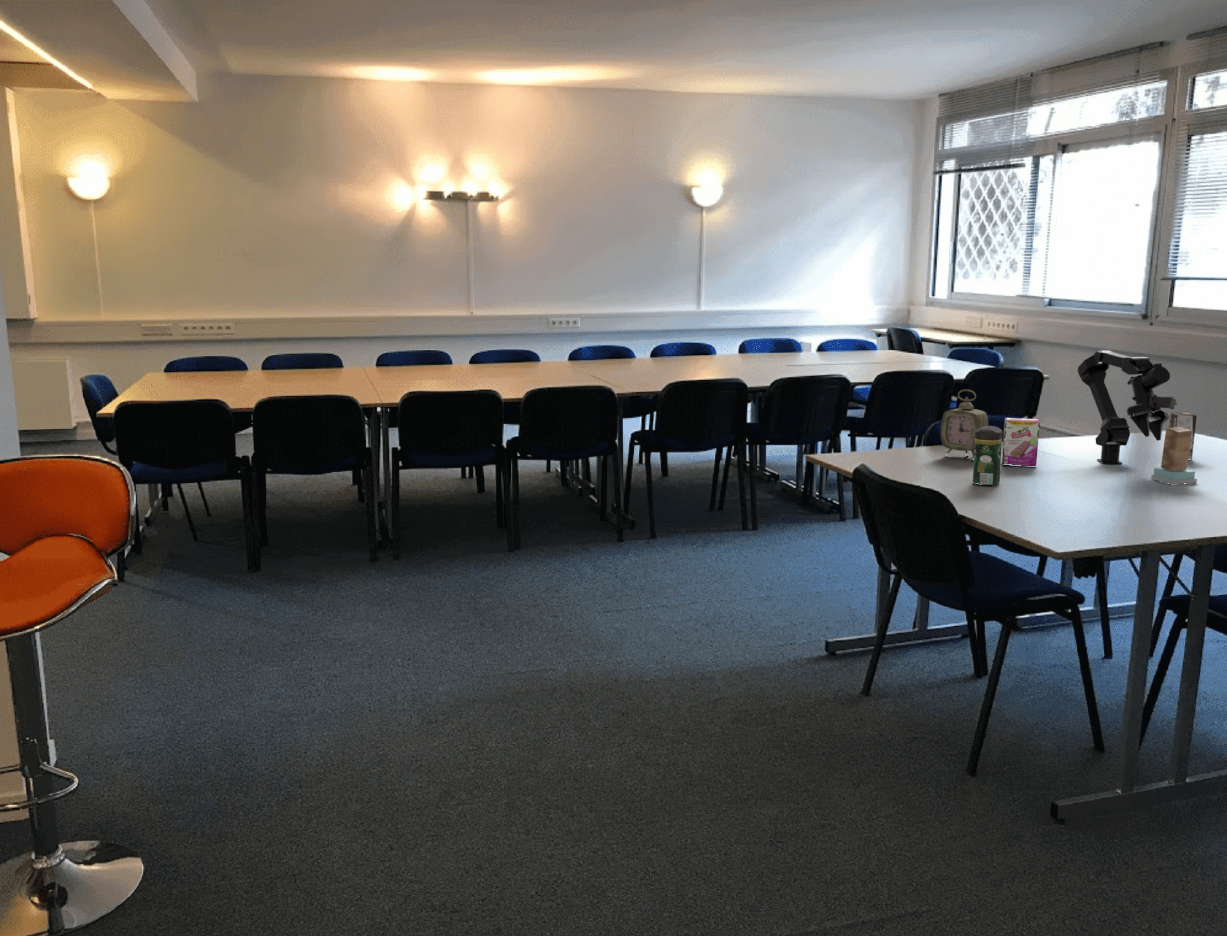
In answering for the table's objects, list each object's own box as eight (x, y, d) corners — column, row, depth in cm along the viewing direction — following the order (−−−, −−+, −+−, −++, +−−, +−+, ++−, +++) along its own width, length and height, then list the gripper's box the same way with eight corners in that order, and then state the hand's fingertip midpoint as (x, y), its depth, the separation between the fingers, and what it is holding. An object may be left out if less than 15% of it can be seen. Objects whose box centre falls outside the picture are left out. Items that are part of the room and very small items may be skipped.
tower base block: (1150, 481, 315) (1151, 474, 315) (1175, 479, 317) (1176, 473, 316) (1170, 487, 306) (1171, 480, 306) (1196, 485, 308) (1197, 478, 307)
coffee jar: (976, 479, 319) (979, 423, 315) (1001, 482, 315) (1005, 425, 311) (969, 485, 311) (972, 428, 307) (995, 488, 307) (999, 429, 303)
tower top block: (1153, 475, 314) (1154, 468, 313) (1174, 473, 316) (1174, 466, 315) (1173, 480, 306) (1174, 473, 306) (1194, 478, 308) (1195, 471, 308)
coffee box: (1192, 460, 342) (1197, 415, 339) (1172, 460, 343) (1177, 415, 340) (1183, 455, 351) (1188, 411, 348) (1163, 455, 352) (1168, 411, 349)
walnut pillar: (1160, 467, 312) (1166, 428, 309) (1173, 465, 314) (1179, 426, 310) (1172, 471, 308) (1178, 432, 304) (1186, 470, 309) (1192, 430, 305)
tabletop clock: (939, 457, 357) (942, 389, 351) (951, 453, 362) (955, 386, 357) (976, 462, 346) (980, 392, 341) (988, 458, 352) (993, 389, 347)
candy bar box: (1001, 466, 339) (1004, 419, 335) (1001, 463, 343) (1004, 417, 340) (1036, 468, 335) (1040, 420, 332) (1035, 465, 340) (1039, 418, 336)
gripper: (1157, 381, 310) (1167, 427, 307) (1180, 390, 322) (1190, 436, 318) (1121, 391, 319) (1131, 436, 315) (1145, 400, 330) (1154, 444, 327)
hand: (1153, 438), depth 318 cm, fingers open, 9 cm apart
